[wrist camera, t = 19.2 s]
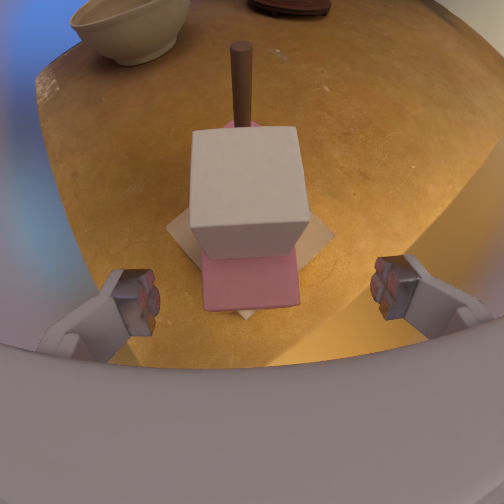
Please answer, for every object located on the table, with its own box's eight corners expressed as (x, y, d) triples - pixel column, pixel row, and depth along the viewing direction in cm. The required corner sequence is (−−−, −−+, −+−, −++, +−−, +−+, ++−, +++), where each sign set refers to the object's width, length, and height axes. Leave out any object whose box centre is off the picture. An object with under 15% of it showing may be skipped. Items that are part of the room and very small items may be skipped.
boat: (290, 307, 16) (365, 287, 6) (211, 311, 16) (148, 301, 6) (273, 140, 19) (292, 11, 9) (209, 143, 19) (185, 15, 8)
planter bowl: (96, 48, 30) (76, 3, 19) (186, 15, 32) (178, -34, 21) (94, 100, 27) (60, 41, 16) (212, 56, 28) (205, -13, 18)
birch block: (317, 252, 22) (336, 235, 18) (246, 319, 21) (245, 320, 16) (252, 186, 24) (253, 155, 19) (181, 246, 22) (164, 227, 18)
